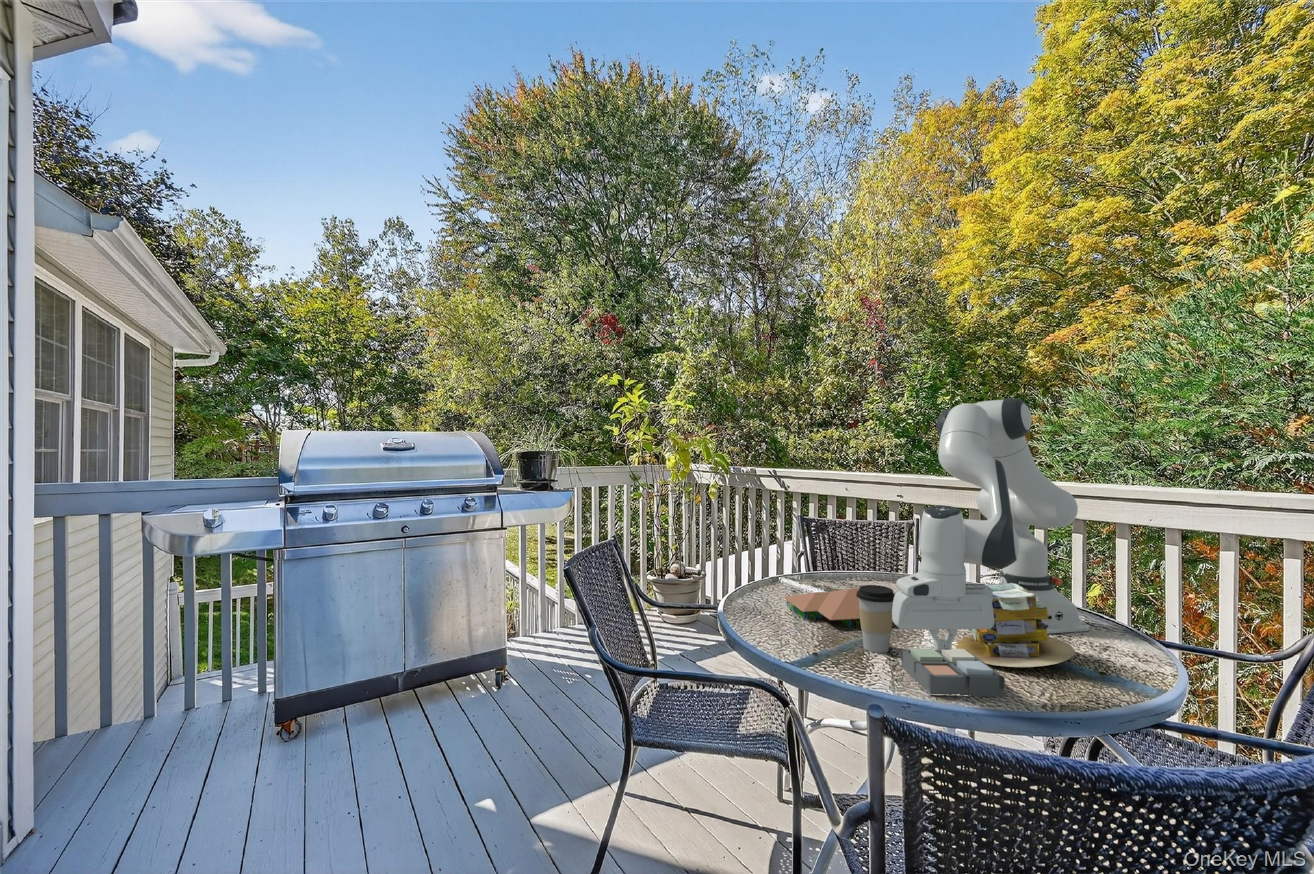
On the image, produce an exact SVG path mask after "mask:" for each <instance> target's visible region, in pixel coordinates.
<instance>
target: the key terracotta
mask: <svg viewBox="0 0 1314 874" xmlns="http://www.w3.org/2000/svg"><path fill="white" fill-rule="evenodd" d="M924 667H925V668H926V669H927V670H929V671H930V672H931V673H932V674H933V675H958V674H957V673H955V672H954V671H953V670H952V669H951V668H949V667H948V666H934V665H924Z"/></svg>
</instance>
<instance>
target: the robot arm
mask: <svg viewBox="0 0 1314 874" xmlns="http://www.w3.org/2000/svg"><path fill="white" fill-rule="evenodd" d="M1032 419H1033V417H1032V413H1031V410H1030V408H1029V406H1028V405H1027V403H1026V402H1025V401H1023V400H1022V399H1020V398H1014V397H1013V398H1011V397H1006V398H1004V399H993V400H984V401H977V402H975V403H967V402H965V403H960V404H958V405H955V406H953V407H951V408H948V409H946V410H943V411H942V412H941V413H940V414H939V415H938V417H937V419H936V430H937V431H936V432H937V436H938V437H939V441H938V451H937V452H938V454H937V455H938V456H937V457H938V458H937V459H938V462H939V464H940V466H941V467H942V468H943V470H944V471H945V472H947V473H948V474H949V475H950V476H952V478H953V477H954V478H956V479H958V480H960V481H963V482H965V483H966V482H967V483H969V484H972V485H974V486H977V487H979V488H981V489H980V491H979V493H978V495H977V498H976V505H977V508H978V511H979V513H980V514H981V515H983V516H984V517H985V518H986V520H983V519H969V518H964V516H963V512H962V511H961V509H959V508H958V507H954V506H951V505H934V506H930V507H927V508H925V509H924V510H923V513H922V517H921V521H920V522H921V523H920V528H919V533H918V534H919V537H918V538H919V539H918V540H919V541H918V543H919V545H918V546H919V551H920V555H921V560H920V561H921V562H920V564H919V571H917V572H915V573H913V574H910V575H907V576H903V577H900V578H898V579H897V580H896V582H895V583H896V588H897V589H898V591H896V592H895V593H894V594H895V596H894V599H893V607H892V620H893V622H892V623H893V625H894V624H895V625H896V627H897V628H898V629H900V630H928V632H929V634H930V635H931V637H932V639H933V646H934V649H935V650H951V649H953V648H952V646H953V645H952V643H953V641H954V640H955V638H956V637H957V635H958V630H971V629H991V628H992V627H993V625H994V612H993V606H992V600H993V592H992V590H991V588H990V587H988V586H986V585H987V584H986V585H985V583H984V584H983V583H967V569H966V566H965V564H969V565H971V564H972V565H979V566H984V567H988V568H992V569H993V568H994V569H997V570H999V584H1000V583H1001V584H1009V583H1014V584H1017V585H1018V584H1019V586H1020V587H1023V588H1024V589H1025V590H1026V589H1027V590H1026V591H1028V593H1029V591H1030V592H1032V593H1033V594H1035V596H1036V600H1037V601H1039V602H1040V603H1041V604H1042V605H1045V606H1046V607H1047V613H1048V619H1041V620H1042V623H1044V624H1045V625H1048V628H1046V630H1047V635H1048V634H1059V633H1060V634H1061V633H1062V634H1063V633H1077V632H1079V633H1080V632H1089V631H1090V627H1089V625H1088V624H1087V623H1086V622H1084V621H1082V620H1080V616H1079V611H1078V608H1077V606H1076V605H1075V603H1074V602H1072V601H1071V599H1068V598H1067V597H1066V596H1065V595H1063V593H1060V592H1059V591H1058V590H1057V589H1056V588H1055V587H1054V585H1056V586H1059V587H1060V586H1062V585H1063V580H1062V578H1059V577H1056V576H1054V577H1052V576H1050V575H1049V574H1048V559H1049V558H1048V554H1049V553H1048V552H1049V551H1048V548H1047V547H1046V545H1045V544H1044V543H1043V542H1042V541H1041V540H1040V539H1037V538H1036V537H1035V536H1034V535H1033V534H1032V532H1031V531H1030V529H1029V526H1033V527H1042V528H1065V527H1066V528H1067V527H1068V526H1069V525H1071V524H1072V523H1073V522H1074V521H1075V520H1076V518H1077V516H1078V513H1079V511H1078V510H1079V509H1078V507H1079V506H1078V502H1077V500H1076V498H1075V497H1074V496H1073V495H1072V493H1070V492H1068V491H1067V490H1065V489H1062V488H1061V487H1059V486H1057V485H1056V484H1055V483H1054V482H1052V481H1051V480H1050V479H1049V478H1048V477H1047V476H1046V475H1045V474H1044V473H1043V472H1042V471H1041V470H1040V468H1039V467H1038V466H1037V463H1036V462H1035V460H1034V458H1033V455H1032V453H1031V450H1030V447H1029V445H1028V442H1027V438H1026V436H1027V434H1028V433H1029V432H1030V430H1031V429H1032ZM985 588H988V589H985ZM940 630H945V631H946V632H947V633H946V635H945V636H944V638H939V636H938V635H940Z"/></svg>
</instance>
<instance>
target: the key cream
mask: <svg viewBox="0 0 1314 874" xmlns="http://www.w3.org/2000/svg"><path fill="white" fill-rule="evenodd" d="M942 655H943V656H945V657H946V658H947V659H948V660H950V661H951V662H957V661H975V657H974V656H973V655H971V654H970V653H969V652H967V651H966V650H965V649H956V648H952V649H951V650H942Z"/></svg>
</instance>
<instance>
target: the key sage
mask: <svg viewBox="0 0 1314 874" xmlns="http://www.w3.org/2000/svg"><path fill="white" fill-rule="evenodd" d="M910 649H911V655H912V656H913V657H914V658H916V659H917V660H918V661H935V662H943V657H942V656H941V655H940V654H939V653H937V652H936V651H935V650H936V649H935V648H923V647H922V648H919V647H918V648H910Z"/></svg>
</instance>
